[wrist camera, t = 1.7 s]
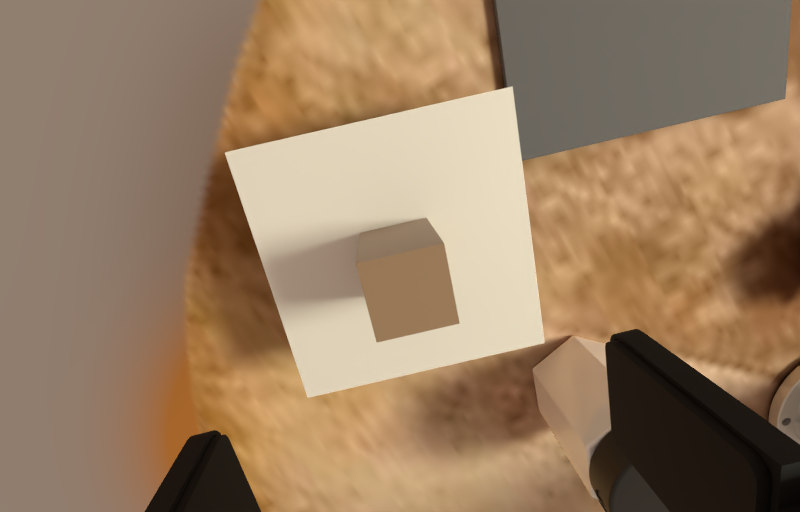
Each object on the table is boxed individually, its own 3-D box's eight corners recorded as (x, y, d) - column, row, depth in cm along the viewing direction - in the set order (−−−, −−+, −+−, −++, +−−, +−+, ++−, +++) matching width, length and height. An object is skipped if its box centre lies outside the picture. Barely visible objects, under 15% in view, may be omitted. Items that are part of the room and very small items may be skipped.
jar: (514, 406, 36) (582, 534, 24) (548, 327, 34) (640, 425, 22) (602, 425, 37) (706, 554, 26) (640, 350, 35) (772, 454, 23)
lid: (505, 89, 23) (563, 66, 16) (537, 334, 27) (593, 400, 20) (232, 151, 23) (170, 157, 16) (310, 386, 27) (289, 470, 20)
